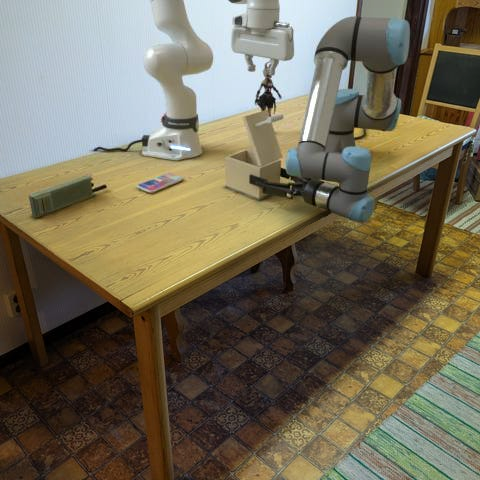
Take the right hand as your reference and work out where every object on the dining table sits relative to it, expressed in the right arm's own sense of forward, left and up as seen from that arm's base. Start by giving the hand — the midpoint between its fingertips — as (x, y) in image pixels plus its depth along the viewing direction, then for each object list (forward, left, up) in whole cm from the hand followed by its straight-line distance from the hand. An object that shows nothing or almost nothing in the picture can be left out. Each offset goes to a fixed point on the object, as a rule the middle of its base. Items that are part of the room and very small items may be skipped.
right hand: (261, 174), depth 157 cm
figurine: (-47, -38, -6) cm, 60 cm away
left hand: (0, -2, +30) cm, 30 cm away
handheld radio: (+45, -35, -6) cm, 58 cm away
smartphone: (+18, -28, -6) cm, 34 cm away
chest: (0, -4, -6) cm, 7 cm away
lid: (0, -1, +11) cm, 11 cm away
